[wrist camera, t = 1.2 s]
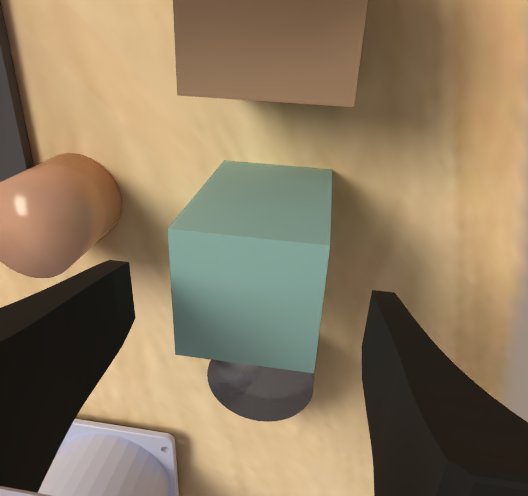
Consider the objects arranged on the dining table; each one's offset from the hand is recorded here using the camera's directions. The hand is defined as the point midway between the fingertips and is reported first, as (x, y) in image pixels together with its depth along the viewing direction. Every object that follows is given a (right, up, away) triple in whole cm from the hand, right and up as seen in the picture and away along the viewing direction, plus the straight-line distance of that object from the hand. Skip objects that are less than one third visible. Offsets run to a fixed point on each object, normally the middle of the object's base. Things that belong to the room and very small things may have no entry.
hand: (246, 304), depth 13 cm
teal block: (+1, +3, +6) cm, 7 cm away
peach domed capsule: (-8, +4, +7) cm, 11 cm away
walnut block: (+1, +10, +3) cm, 11 cm away
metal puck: (+1, -4, +10) cm, 10 cm away
